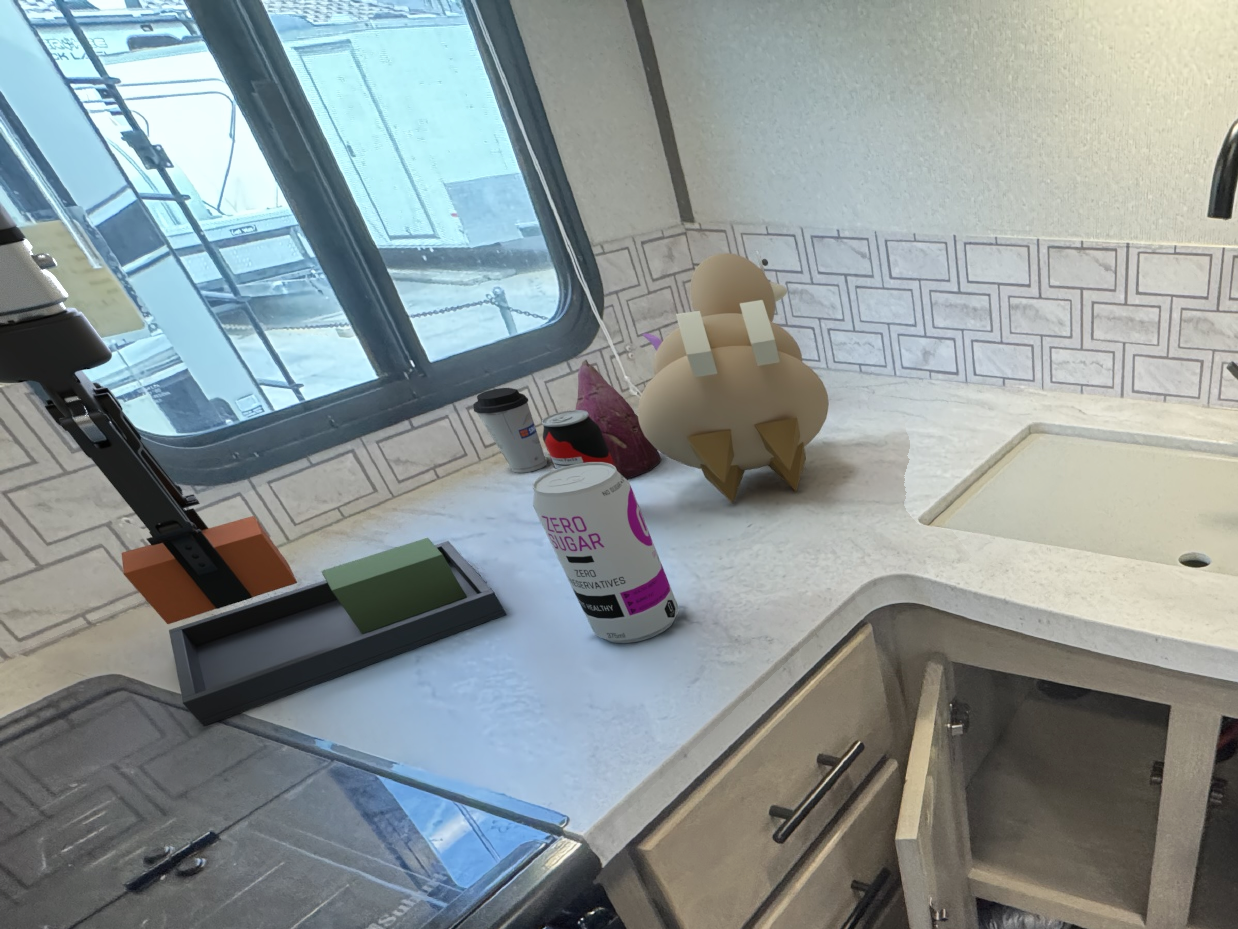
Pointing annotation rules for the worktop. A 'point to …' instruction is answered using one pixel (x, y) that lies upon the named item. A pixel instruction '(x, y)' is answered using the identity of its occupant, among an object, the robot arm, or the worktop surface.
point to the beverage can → (574, 439)
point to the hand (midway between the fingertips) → (229, 589)
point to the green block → (394, 585)
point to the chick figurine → (732, 381)
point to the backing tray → (305, 643)
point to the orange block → (180, 594)
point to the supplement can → (605, 551)
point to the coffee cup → (511, 428)
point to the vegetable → (615, 423)
